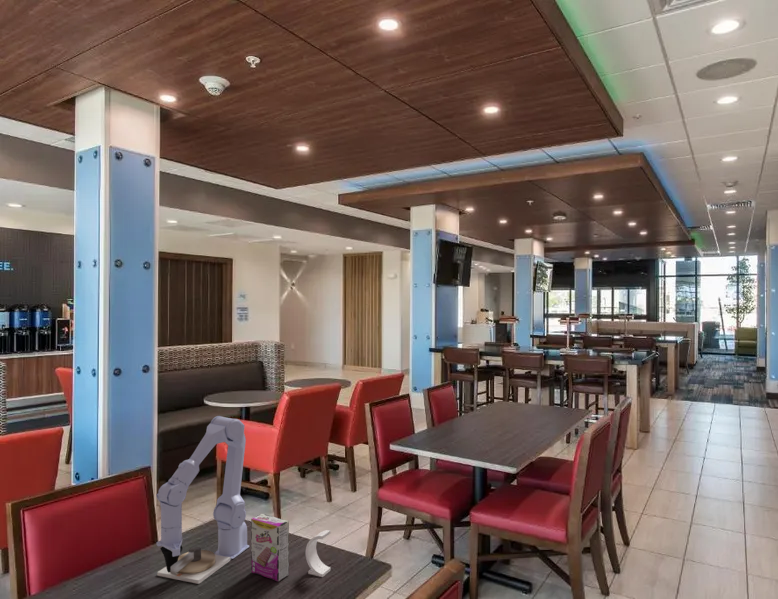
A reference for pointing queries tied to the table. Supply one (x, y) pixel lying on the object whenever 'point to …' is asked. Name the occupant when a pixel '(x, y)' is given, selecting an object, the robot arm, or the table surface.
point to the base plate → (197, 576)
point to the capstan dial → (194, 561)
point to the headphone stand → (316, 556)
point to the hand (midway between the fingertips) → (171, 571)
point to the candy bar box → (270, 547)
